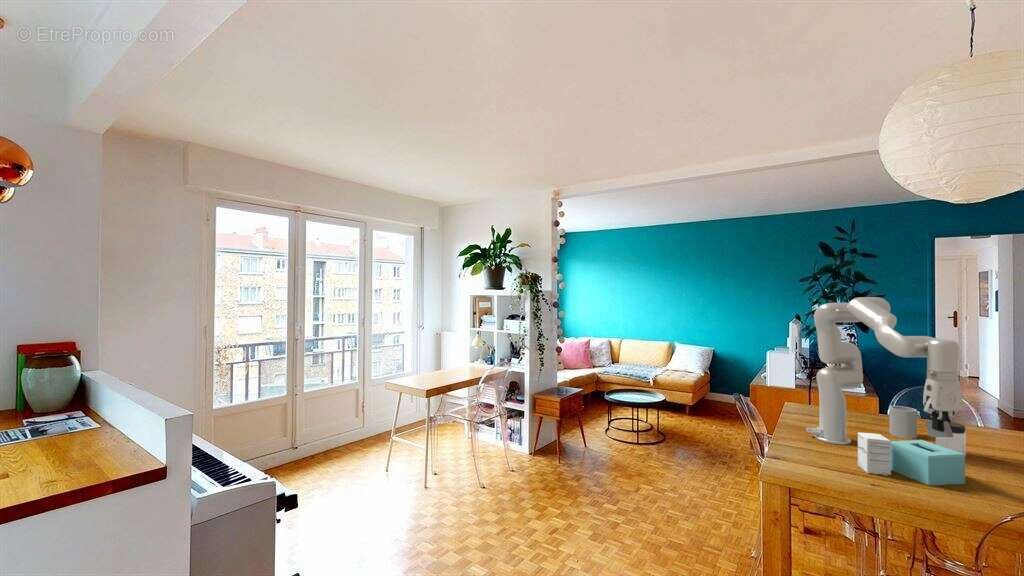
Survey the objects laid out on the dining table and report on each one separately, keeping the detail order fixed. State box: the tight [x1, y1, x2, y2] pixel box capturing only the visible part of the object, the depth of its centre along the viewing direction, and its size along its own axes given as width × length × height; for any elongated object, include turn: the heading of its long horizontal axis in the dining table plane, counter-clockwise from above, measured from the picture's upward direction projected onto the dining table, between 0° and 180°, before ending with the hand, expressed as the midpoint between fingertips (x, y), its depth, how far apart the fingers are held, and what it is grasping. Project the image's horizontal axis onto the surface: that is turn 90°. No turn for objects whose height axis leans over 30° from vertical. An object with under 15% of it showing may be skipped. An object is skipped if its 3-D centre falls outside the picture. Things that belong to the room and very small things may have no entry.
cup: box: [889, 405, 918, 439], centre depth 197 cm, size 9×9×12 cm
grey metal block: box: [924, 421, 954, 438], centre depth 148 cm, size 2×6×5 cm, turn 5°
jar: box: [935, 421, 967, 457], centre depth 174 cm, size 9×8×12 cm
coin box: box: [890, 439, 966, 486], centre depth 154 cm, size 14×14×10 cm
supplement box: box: [857, 431, 892, 476], centre depth 158 cm, size 7×7×13 cm
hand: (941, 429), depth 147 cm, fingers closed on grey metal block, 1 cm apart
